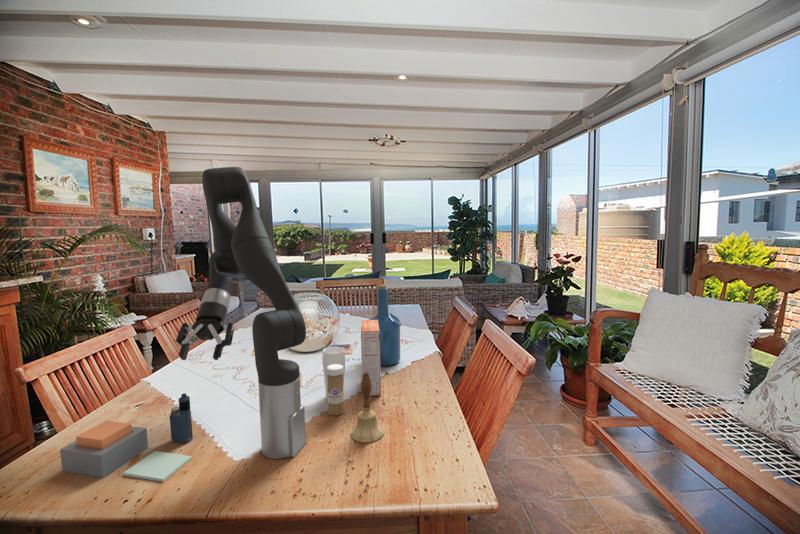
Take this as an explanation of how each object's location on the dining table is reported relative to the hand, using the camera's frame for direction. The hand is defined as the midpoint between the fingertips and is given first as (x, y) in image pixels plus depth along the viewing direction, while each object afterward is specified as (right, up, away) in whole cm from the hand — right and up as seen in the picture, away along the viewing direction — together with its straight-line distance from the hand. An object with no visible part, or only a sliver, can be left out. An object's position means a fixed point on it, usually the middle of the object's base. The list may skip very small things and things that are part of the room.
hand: (199, 359), depth 103 cm
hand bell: (+46, -18, -7) cm, 50 cm away
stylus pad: (+2, -19, -19) cm, 27 cm away
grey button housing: (-12, -19, -17) cm, 28 cm away
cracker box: (+45, -14, +21) cm, 52 cm away
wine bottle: (+48, -12, +45) cm, 67 cm away
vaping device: (+1, -18, -9) cm, 20 cm away
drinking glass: (+34, -15, +14) cm, 40 cm away
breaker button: (-12, -15, -17) cm, 26 cm away
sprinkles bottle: (+36, -16, +5) cm, 40 cm away
